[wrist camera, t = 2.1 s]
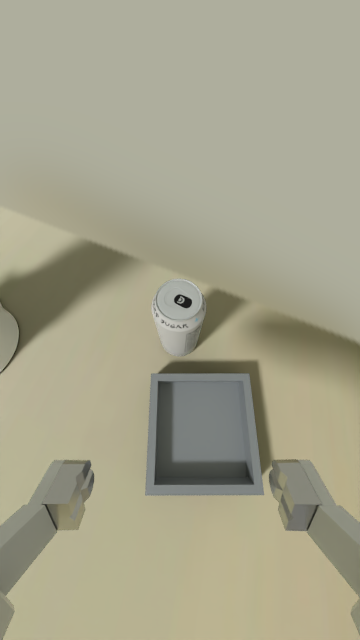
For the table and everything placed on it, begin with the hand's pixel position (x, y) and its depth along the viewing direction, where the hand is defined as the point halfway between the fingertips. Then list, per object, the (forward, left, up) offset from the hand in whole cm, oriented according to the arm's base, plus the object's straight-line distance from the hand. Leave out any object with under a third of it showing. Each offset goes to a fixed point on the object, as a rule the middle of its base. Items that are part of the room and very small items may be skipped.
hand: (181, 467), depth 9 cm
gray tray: (+3, -1, -23) cm, 23 cm away
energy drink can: (0, +12, -23) cm, 26 cm away
